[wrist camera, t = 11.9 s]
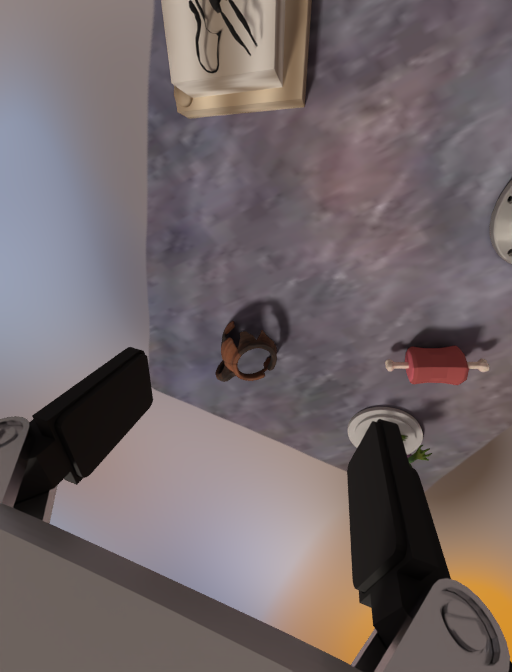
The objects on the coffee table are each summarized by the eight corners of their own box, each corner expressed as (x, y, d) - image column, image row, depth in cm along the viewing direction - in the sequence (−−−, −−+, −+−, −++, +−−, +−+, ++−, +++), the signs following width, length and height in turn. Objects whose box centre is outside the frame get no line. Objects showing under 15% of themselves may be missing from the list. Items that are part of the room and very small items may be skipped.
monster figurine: (395, 462, 47) (408, 521, 38) (336, 436, 48) (337, 488, 39) (437, 425, 41) (465, 486, 32) (368, 396, 42) (378, 447, 33)
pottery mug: (237, 304, 41) (249, 329, 34) (277, 328, 45) (294, 355, 39) (198, 355, 44) (202, 387, 38) (239, 372, 49) (249, 404, 42)
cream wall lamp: (317, -77, 21) (311, -185, 15) (304, 108, 27) (296, 82, 21) (174, -38, 24) (123, -114, 18) (190, 119, 30) (155, 99, 24)
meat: (486, 338, 32) (505, 368, 28) (474, 362, 35) (489, 392, 32) (384, 341, 36) (389, 368, 32) (381, 363, 39) (386, 389, 35)
